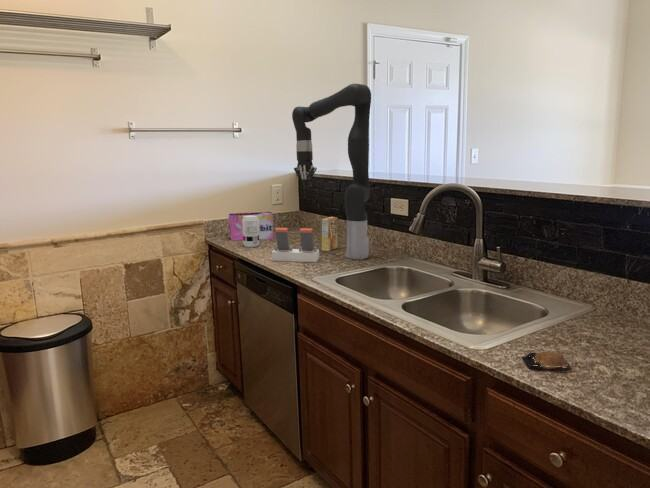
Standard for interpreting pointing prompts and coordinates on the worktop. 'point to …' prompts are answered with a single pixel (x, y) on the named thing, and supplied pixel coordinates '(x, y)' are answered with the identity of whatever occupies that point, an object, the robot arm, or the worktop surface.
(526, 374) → the worktop surface
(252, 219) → the supplement can
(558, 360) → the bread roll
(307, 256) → the white paddle base
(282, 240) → the far paddle
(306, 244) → the near paddle
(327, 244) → the candy box
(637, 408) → the worktop surface
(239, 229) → the gum box
